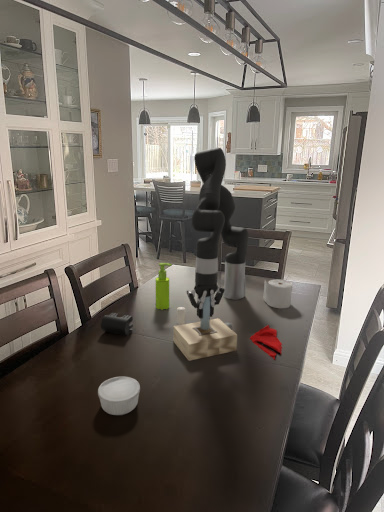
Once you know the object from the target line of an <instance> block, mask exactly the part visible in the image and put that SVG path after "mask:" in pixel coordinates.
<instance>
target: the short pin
mask: <svg viewBox="0 0 384 512" xmlns="http://www.w3.org/2000/svg"><path fill="white" fill-rule="evenodd" d="M223 323H224V324H226V325H227V326H228V327H229V328H230V329H231V330H233V323H232V322H229V321H228V322H223Z"/></svg>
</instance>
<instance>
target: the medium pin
mask: <svg viewBox="0 0 384 512" xmlns="http://www.w3.org/2000/svg"><path fill="white" fill-rule="evenodd" d="M183 324H186V308H185V307H184V306H179V307H177V308H176V326H178V325H183Z"/></svg>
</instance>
